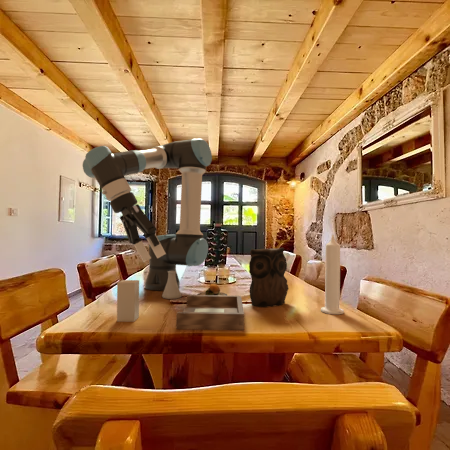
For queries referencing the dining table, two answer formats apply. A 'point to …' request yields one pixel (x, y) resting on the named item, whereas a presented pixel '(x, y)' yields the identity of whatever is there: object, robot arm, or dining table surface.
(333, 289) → the candle
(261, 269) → the owl
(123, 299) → the block
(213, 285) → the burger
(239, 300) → the shallow rimmed tray
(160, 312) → the dining table surface
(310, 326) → the dining table surface
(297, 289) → the dining table surface
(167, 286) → the flask
